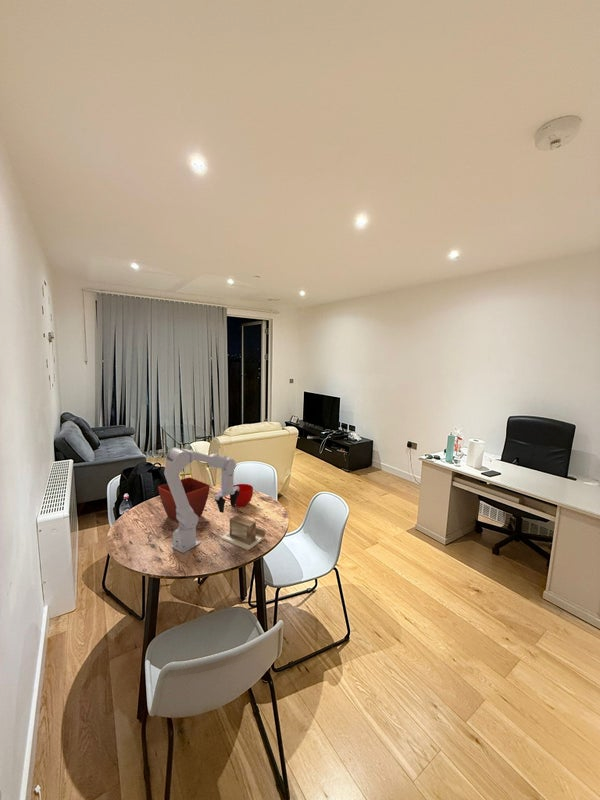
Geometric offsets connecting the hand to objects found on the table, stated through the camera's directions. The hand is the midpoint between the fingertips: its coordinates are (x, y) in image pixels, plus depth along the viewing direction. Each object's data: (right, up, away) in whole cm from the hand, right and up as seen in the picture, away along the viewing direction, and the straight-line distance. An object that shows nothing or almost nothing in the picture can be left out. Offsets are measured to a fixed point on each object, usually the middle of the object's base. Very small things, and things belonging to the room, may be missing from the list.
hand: (227, 509), depth 157 cm
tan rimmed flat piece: (+9, -11, -7) cm, 16 cm away
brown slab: (+9, -10, -8) cm, 16 cm away
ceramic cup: (0, -8, +29) cm, 30 cm away
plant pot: (-26, -9, +13) cm, 30 cm away
